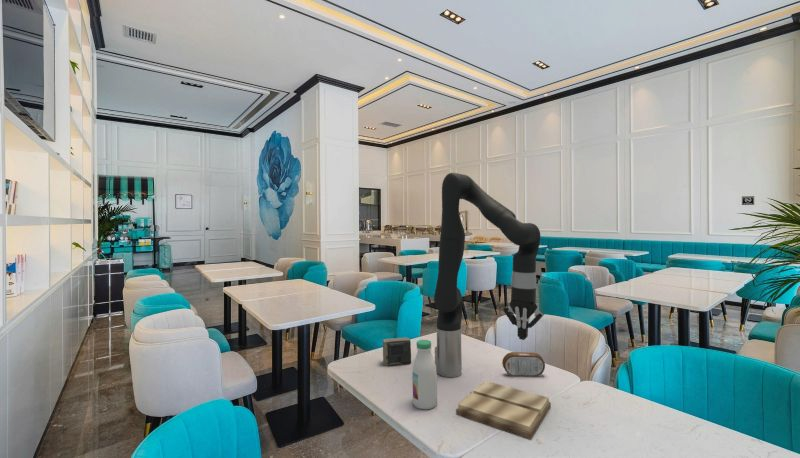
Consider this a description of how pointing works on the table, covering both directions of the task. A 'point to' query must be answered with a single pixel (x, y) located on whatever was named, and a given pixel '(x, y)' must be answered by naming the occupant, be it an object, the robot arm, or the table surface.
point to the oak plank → (512, 396)
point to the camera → (396, 351)
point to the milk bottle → (424, 377)
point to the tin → (523, 364)
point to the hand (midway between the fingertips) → (522, 338)
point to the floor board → (501, 415)
